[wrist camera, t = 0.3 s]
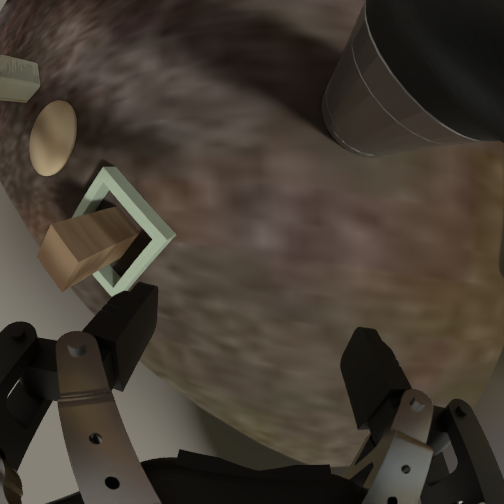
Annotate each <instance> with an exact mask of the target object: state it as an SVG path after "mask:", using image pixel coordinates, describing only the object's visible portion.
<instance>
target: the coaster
mask: <svg viewBox="0 0 504 504" xmlns="http://www.w3.org/2000/svg"><path fill="white" fill-rule="evenodd" d="M76 136H77V118H76V113H75V111H74V109H73V107H72V106H71V105H70V104H69V103H68V102H65V101H61V100H57V101H54V102H51V103H50V104H48V105H47V106H46V107H45V108H44V109H43V110H42V111H41V113H40V114H39V116H38V117H37V119H36V121H35V123H34V126H33V129H32V132H31V137H30V147H29V149H30V158H31V162H32V164H33V167H34V168H35V170H36V171H37V172H38V173H39V174H41V175H43V176H51V175H54V174H56V173H58V172H59V171H60V170H61V169H62V168H63V167H64V166H65V165H66V163H67V162H68V160H69V158H70V156H71V154H72V151H73V149H74V145H75V141H76Z"/></svg>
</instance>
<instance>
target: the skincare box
mask: <svg viewBox="0 0 504 504" xmlns="http://www.w3.org/2000/svg"><path fill="white" fill-rule="evenodd" d="M39 88H40V78H39V70H38V64H37V63H34V62H30V61H26V60H22V59H18V58H14V57H9V56H5V55H0V100H5V101H15V102H23V103H27V102H28V101H29V99H30V98H31V97H32V96H33V95H34V94H35V92H36V91H37V90H38V89H39Z"/></svg>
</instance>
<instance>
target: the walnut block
mask: <svg viewBox="0 0 504 504" xmlns="http://www.w3.org/2000/svg"><path fill="white" fill-rule="evenodd" d="M139 234H140V233H139V232H138V230H137V229H136V228H135V227H134V226H133V225H132V224H131V222H130V221H129V220H128V219H127V218H126V217H125V215H124V214H123V213H122V212H121V211H120V210H119V208H118V207H117V206H116V207H112V208H108V209H104V210H100V211H96V212H92V213H88V214H85V215H81V216H78V217H74V218H71V219H67V220H64V221H60V222H57V223H54V224H51V226H50V228H49V230H48V232H47V234H46V237H45V239H44V241H43V244H42V246H41V248H40V251H39V253H38V256H37V257H38V259H39V260H40V262H41V263H42V265H43V266H44V268H45V269H46V271H47V272H48V273H49V275H50V276H51V278H52V279H53V280H54V282H55V283H56V284H57V286H58V287H59V288H60V289H61V291H62V292H63V291H65V290H66V289H68V288H70V287H71V286H73V285H75V284H76V283H78V282H80V281H81V280H83V279H85V278H86V277H88V276H90V275H91V274H93V273H95V272H97V271H98V270H100V269H102V268H103V267H105V266H107V265H109V264H110V263H112V262H114V261H116V260H118V259H119V258H121V257H122V255H123V254H124V253H125V252H126V250H127V249H128V248H129V246H130V245H131V244H132V243H133V241H134V240H135V239H136V237H137V236H138V235H139Z"/></svg>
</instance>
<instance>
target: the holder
mask: <svg viewBox="0 0 504 504" xmlns="http://www.w3.org/2000/svg"><path fill="white" fill-rule="evenodd" d="M109 190H110V191H111V192H112V193H113V194H114V196H115V197H116V198H117V199H118V200H119V202H120V203H121V204H122V205H123V206H124V207H125V209H126V210H127V211H128V212H129V213H130V214H131V216H132V217H133V218H134V219H135V220H136V221H137V222H138V224H139V225H140V226H141V227H142V228H143V229H144V230H145V231H146V233H147V234H148V235H149V236H150V237H151V238H152V241H151V242H150V243H149V244H148V245H147V247H146V248H145V249H144V250H143V251H142V253H141V254H140V255H139V256H138V257H137V259H136V260H135V261H134V262H133V264H132V265H131V266H130V267H129V269H128V270H127V271H126V272H125V274H124V275H123V276H122V277H120V276H119V275H118V274H117V273H116V271H115V270H114V269H113V268H112V267H111V266H110V264H109V265H107V266H105V267H103V268H102V269H100V270H98V271H97V272H95V273H93V276H94V277H95V278H96V279H97V280H98V281H99V283H100V284H101V285H102V286H103V287H104V288H105V290H106V291H107V292H108V293H109V294H110V295H111V296H112V297H113V296H114V295H116V294H118V293H120V292H122V291H124V290H125V291H127V290H128V289H129V288H130V287H131V286H132V284H133V283H134V282H135V281H136V280H137V279H138V277H139V276H140V275H141V274H142V273H143V272H144V270H145V269H146V268H147V267H148V266H149V265H150V263H151V262H152V261H153V260H154V259H155V258H156V257H157V256H158V254H159V253H160V252H161V251H162V250H163V249H164V248H165V247H166V246H167V244H168V243H169V242H170V241H171V240H172V239H173V238H174V237H175V236H176V234H175V233H174V232H173V230H172V229H171V228H170V227H169V226H168V225H167V224H166V223H165V222H164V221H163V220H162V219H161V217H160V216H159V215H158V214H157V213H156V212H155V211H154V210H153V209H152V207H151V206H150V205H149V204H148V203H147V202H146V201H145V200H144V199H143V197H142V196H141V195H140V194H139V193H138V192H137V191H136V190H135V188H134V187H133V186H132V185H131V184H130V183H129V182H128V180H127V179H126V178H125V177H124V176H123V175H122V173H121V172H120V171H119V170H118V169H117V168H116V167H103V168H102V169H101V171H100V172H99V174H98V175H97V177H96V178H95V180H94V182H93V183H92V185H91V186H90V188H89V189H88V191H87V193H86V194H85V196H84V198H83V199H82V201H81V203H80V204H79V206H78V208H77V210H76V211H75V213H74V215H73V217H72V218H74V217H78V216H81V215H85V214H88V213H92V212H95V211H96V209H97V208H98V206H99V205H100V203H101V201H102V200H103V199H104V197H105V196H106V194H107V193H108V191H109Z"/></svg>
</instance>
